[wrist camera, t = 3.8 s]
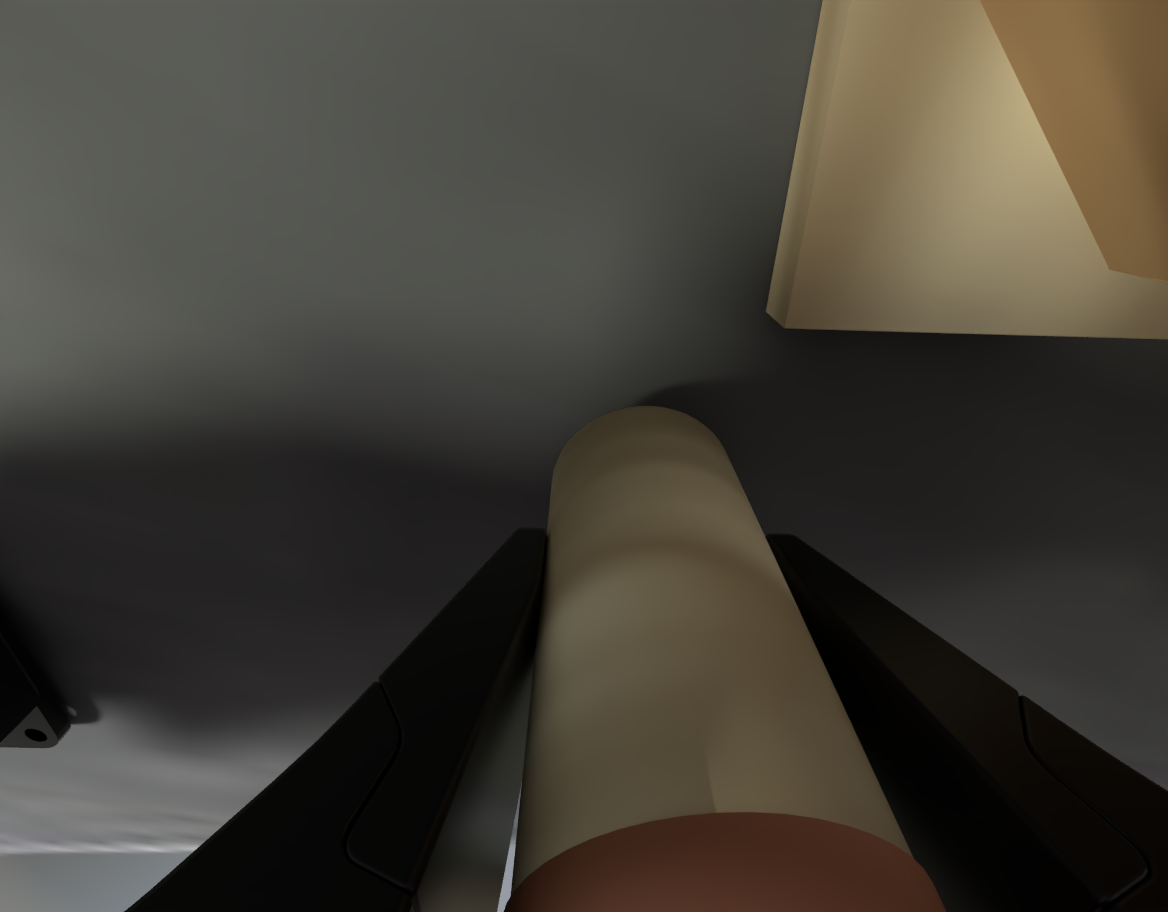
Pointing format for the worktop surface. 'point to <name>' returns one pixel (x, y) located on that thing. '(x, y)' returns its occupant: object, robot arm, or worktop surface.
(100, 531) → the worktop surface
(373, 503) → the worktop surface
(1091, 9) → the bead
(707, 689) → the cream banded cylinder
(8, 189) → the worktop surface
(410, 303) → the worktop surface
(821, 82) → the board
